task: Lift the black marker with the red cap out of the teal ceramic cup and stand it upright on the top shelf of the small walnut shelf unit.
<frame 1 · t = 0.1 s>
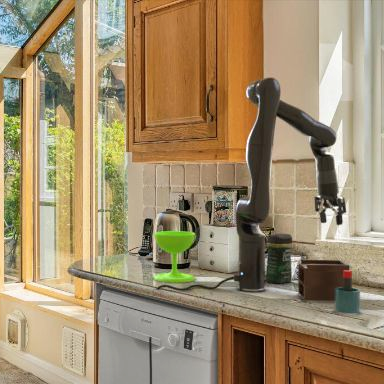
hand: (331, 223, 225), 22 cm above the worktop, tool pointing down, fingers open, 8 cm apart
pen cup: (347, 312, 177), on the worktop
coffee jar: (279, 282, 226), on the worktop
shelf: (322, 298, 196), on the worktop
wineglass: (174, 279, 233), on the worktop
marker: (347, 310, 177), point 1 cm above the worktop, touching pen cup
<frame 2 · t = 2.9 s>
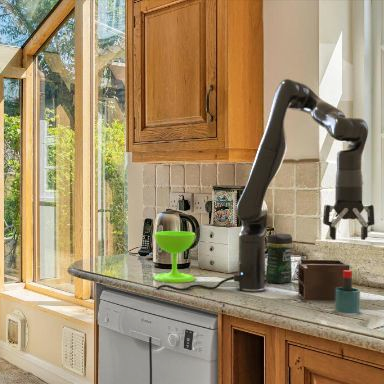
hand: (348, 239, 177), 22 cm above the worktop, tool pointing down, fingers open, 8 cm apart
nothing on the worktop moved.
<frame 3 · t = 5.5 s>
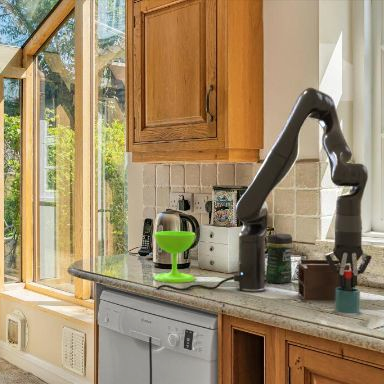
hand: (347, 287, 177), 8 cm above the worktop, tool pointing down, fingers closed on marker, 2 cm apart
marker: (347, 310, 177), point 1 cm above the worktop, touching gripper, pen cup
everything else where it was.
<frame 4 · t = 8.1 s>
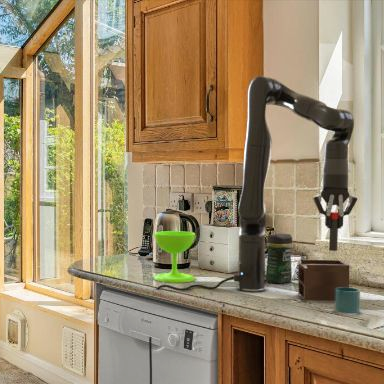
hand: (333, 227, 186), 25 cm above the worktop, tool pointing down, fingers closed on marker, 2 cm apart
marker: (333, 250, 186), point 17 cm above the worktop, touching gripper
everything else where it was.
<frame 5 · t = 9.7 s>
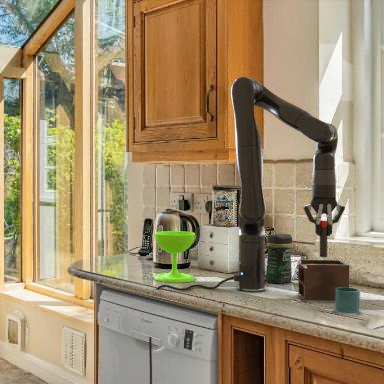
hand: (323, 235, 196), 21 cm above the worktop, tool pointing down, fingers closed on marker, 2 cm apart
marker: (323, 256, 196), point 14 cm above the worktop, touching gripper
everything else where it was.
when the fingers open (18 cm above the worktop, at t = 10.7 s): marker stays where it is, resting on shelf.
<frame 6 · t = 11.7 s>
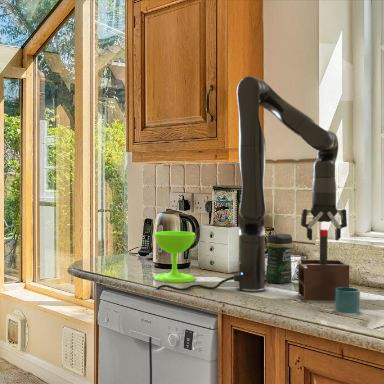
hand: (323, 240, 196), 20 cm above the worktop, tool pointing down, fingers open, 8 cm apart
marker: (323, 265, 196), point 11 cm above the worktop, touching shelf
everything else where it was.
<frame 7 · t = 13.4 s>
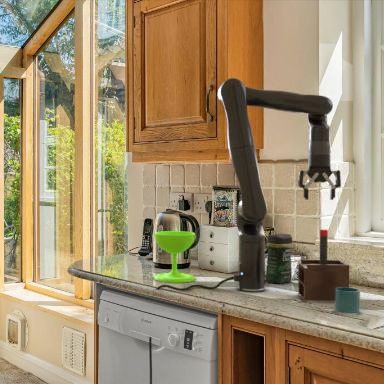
hand: (319, 199, 209), 32 cm above the worktop, tool pointing down, fingers open, 8 cm apart
nothing on the worktop moved.
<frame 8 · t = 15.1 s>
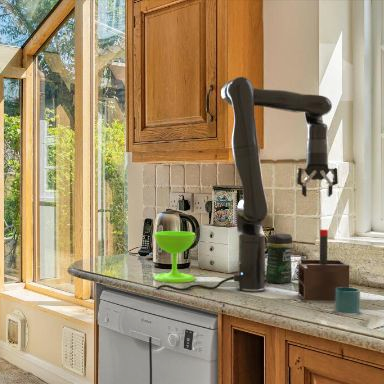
hand: (316, 196, 216), 33 cm above the worktop, tool pointing down, fingers open, 8 cm apart
nothing on the worktop moved.
at the end: marker inside the target area on the shelf (0.1 cm from its centre), point 11.0 cm above the shelf's base; marker tilted 0°; the gripper is holding nothing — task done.
